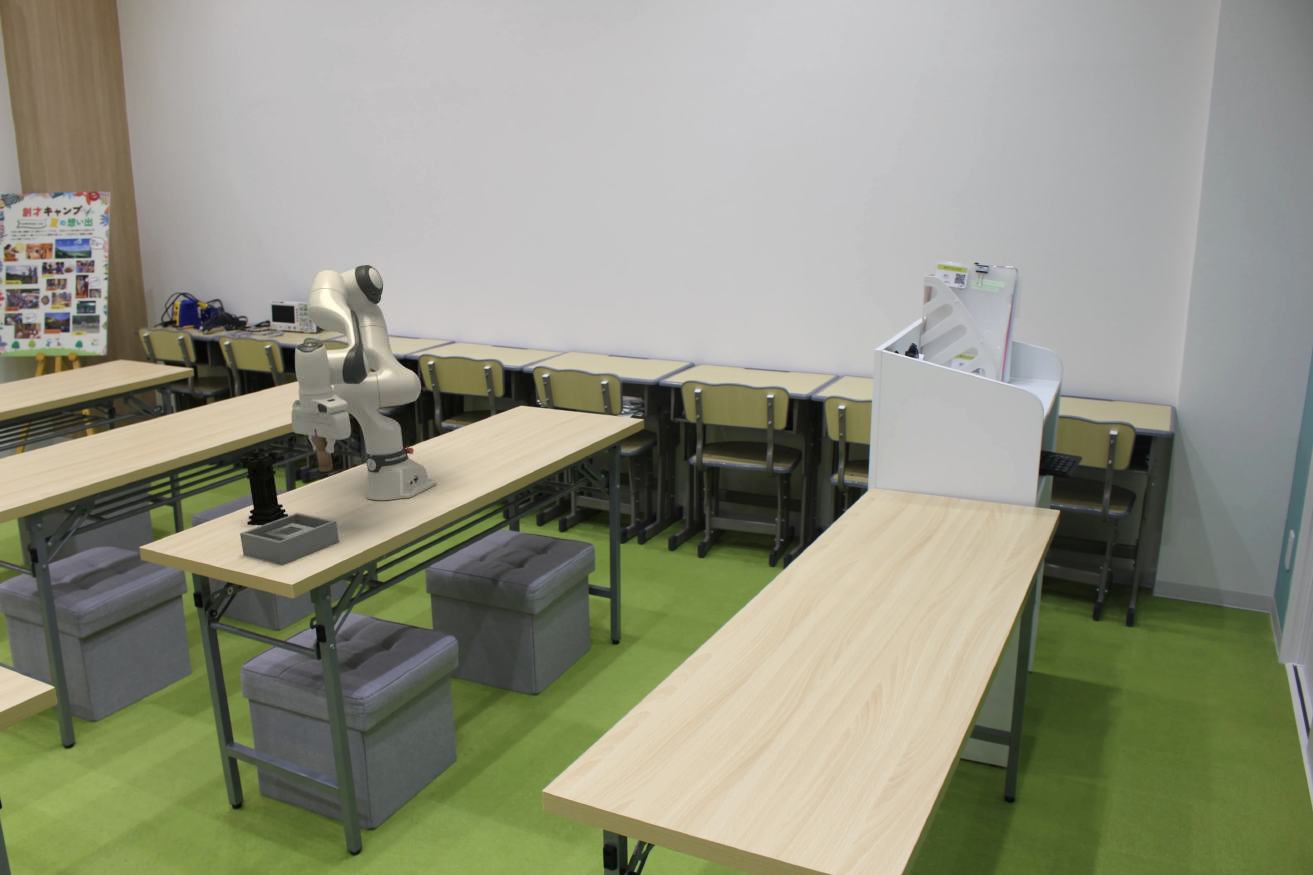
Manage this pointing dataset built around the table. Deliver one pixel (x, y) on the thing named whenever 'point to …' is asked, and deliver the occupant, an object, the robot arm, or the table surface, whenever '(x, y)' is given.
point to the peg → (323, 454)
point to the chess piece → (263, 488)
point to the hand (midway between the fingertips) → (323, 451)
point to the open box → (289, 539)
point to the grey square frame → (286, 531)
